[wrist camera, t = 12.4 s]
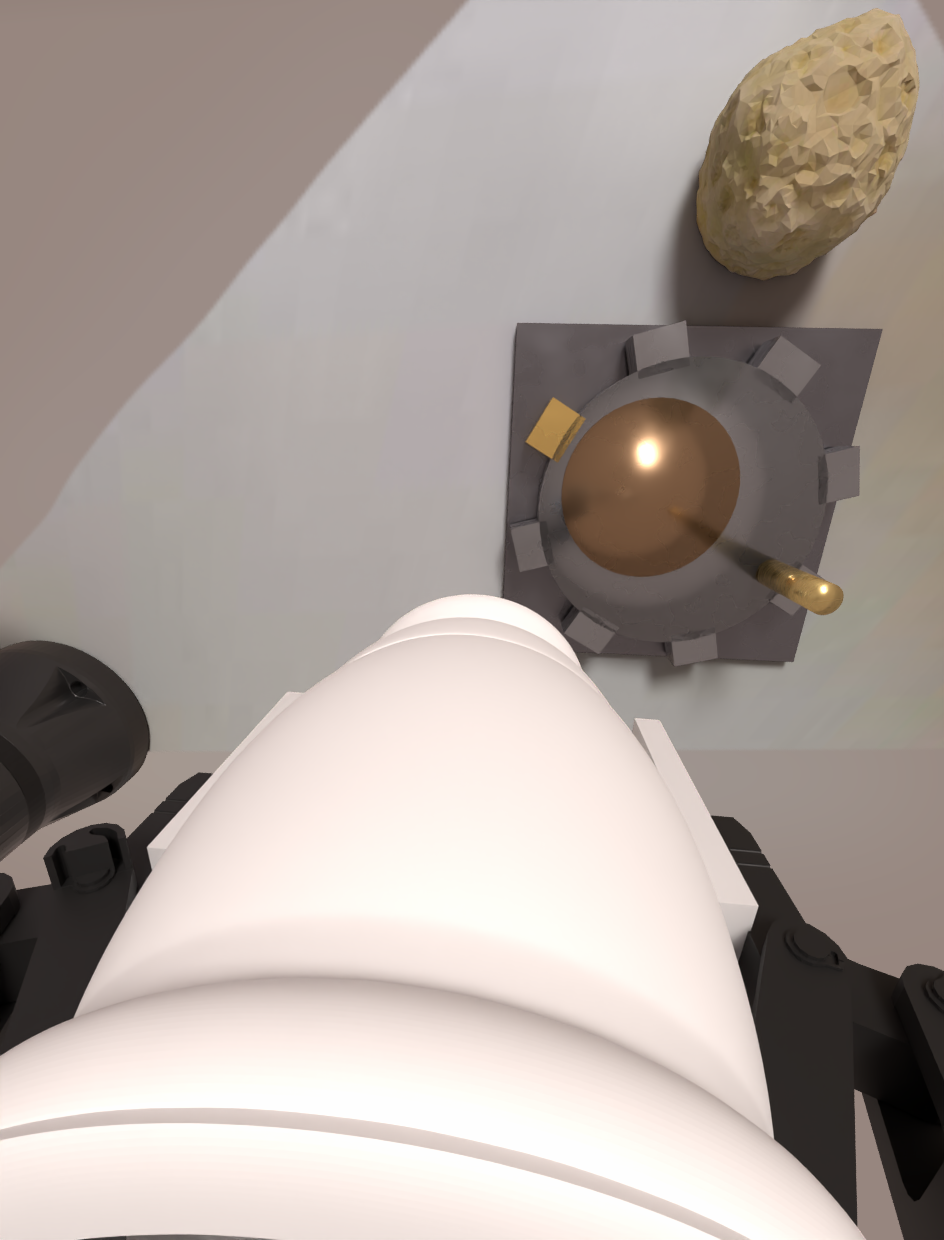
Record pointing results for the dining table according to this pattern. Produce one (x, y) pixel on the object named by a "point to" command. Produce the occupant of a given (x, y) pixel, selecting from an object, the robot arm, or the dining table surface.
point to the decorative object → (808, 146)
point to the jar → (416, 986)
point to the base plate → (596, 359)
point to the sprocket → (685, 496)
